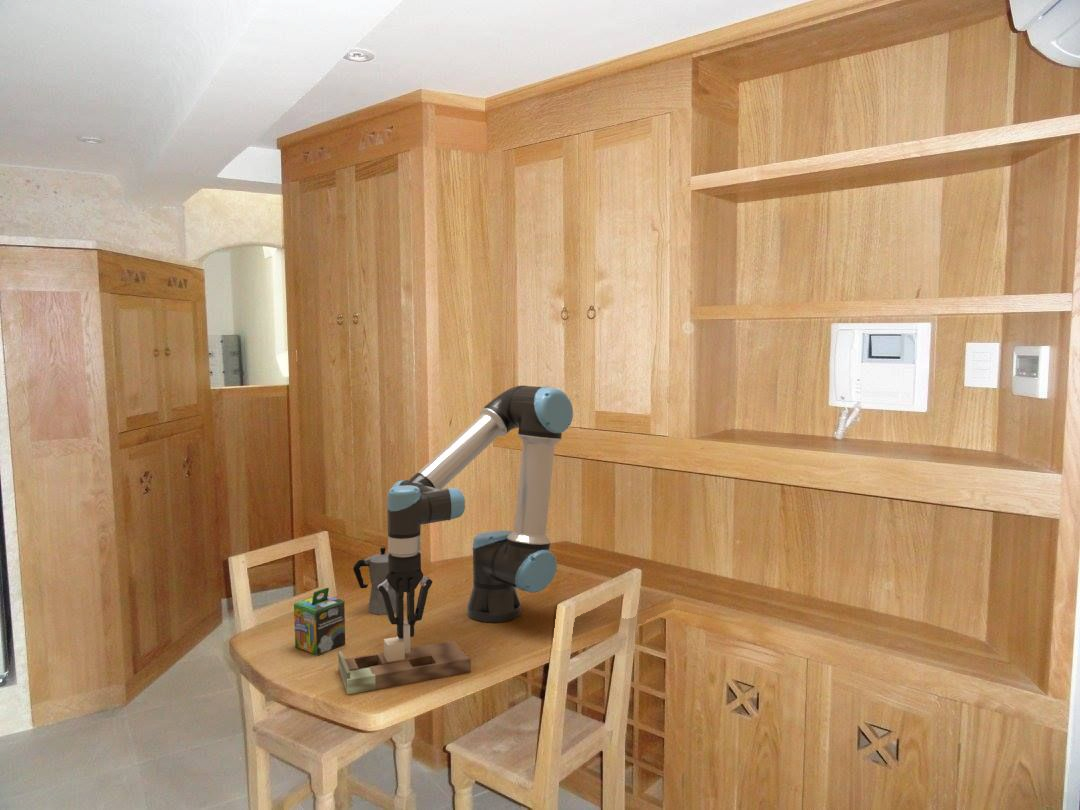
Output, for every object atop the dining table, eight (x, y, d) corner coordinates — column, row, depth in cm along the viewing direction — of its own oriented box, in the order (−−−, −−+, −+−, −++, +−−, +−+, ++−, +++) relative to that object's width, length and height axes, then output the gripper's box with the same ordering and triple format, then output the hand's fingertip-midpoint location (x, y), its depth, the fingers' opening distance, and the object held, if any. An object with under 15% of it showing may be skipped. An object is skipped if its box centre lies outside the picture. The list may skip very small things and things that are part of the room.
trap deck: (454, 650, 185) (453, 633, 184) (470, 671, 173) (470, 653, 172) (338, 670, 173) (338, 651, 173) (347, 694, 162) (347, 674, 161)
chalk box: (323, 635, 194) (322, 580, 193) (346, 644, 189) (345, 587, 187) (293, 647, 186) (291, 589, 185) (316, 656, 181) (315, 597, 180)
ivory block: (400, 652, 177) (400, 636, 177) (404, 659, 174) (404, 642, 173) (384, 655, 176) (383, 639, 175) (387, 662, 172) (387, 645, 172)
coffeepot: (397, 600, 221) (396, 540, 219) (412, 609, 213) (411, 547, 212) (348, 611, 212) (346, 549, 210) (361, 621, 204) (360, 556, 203)
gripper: (427, 545, 180) (428, 640, 182) (373, 551, 175) (374, 649, 177) (436, 553, 173) (437, 652, 175) (379, 560, 168) (381, 661, 170)
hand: (405, 650), depth 176 cm, fingers closed
